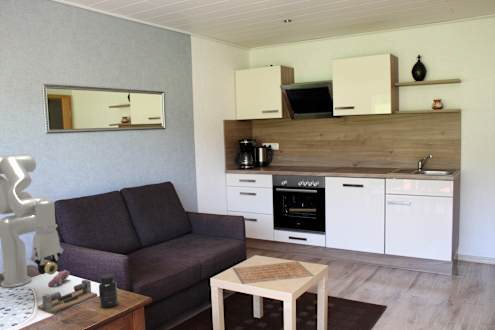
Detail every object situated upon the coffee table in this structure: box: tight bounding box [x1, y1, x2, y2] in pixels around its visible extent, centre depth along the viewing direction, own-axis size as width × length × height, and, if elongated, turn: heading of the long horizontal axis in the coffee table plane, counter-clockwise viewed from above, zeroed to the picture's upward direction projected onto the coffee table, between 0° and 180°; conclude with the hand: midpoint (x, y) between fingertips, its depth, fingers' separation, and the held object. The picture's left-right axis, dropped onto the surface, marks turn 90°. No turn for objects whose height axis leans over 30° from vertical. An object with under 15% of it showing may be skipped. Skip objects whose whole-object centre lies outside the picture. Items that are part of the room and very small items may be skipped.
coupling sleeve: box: [43, 259, 59, 275], centre depth 184 cm, size 6×5×5 cm
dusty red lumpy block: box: [47, 269, 71, 288], centre depth 202 cm, size 10×5×7 cm, turn 169°
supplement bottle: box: [98, 273, 119, 309], centre depth 175 cm, size 7×7×12 cm
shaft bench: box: [37, 279, 98, 316], centre depth 179 cm, size 11×20×6 cm, turn 148°
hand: (48, 270), depth 184 cm, fingers closed on coupling sleeve, 5 cm apart
